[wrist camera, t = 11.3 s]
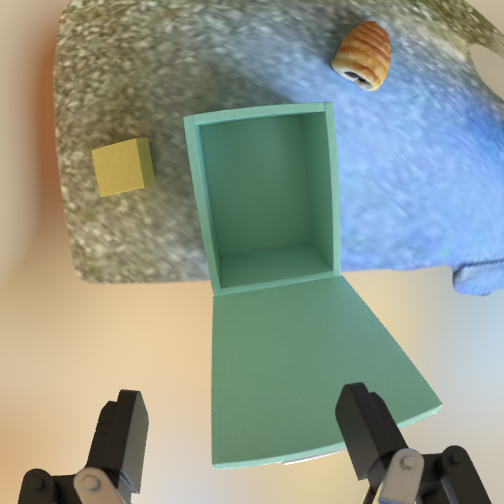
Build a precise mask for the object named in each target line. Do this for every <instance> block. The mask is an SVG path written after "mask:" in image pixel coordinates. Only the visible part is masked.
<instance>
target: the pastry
mask: <svg viewBox="0 0 504 504" xmlns="http://www.w3.org/2000/svg"><path fill="white" fill-rule="evenodd" d="M390 55H391V51H390V41H389V35H388V34H387V33H386V31H385V30H384V29H382V28H381V27H380V26H379V25H378V24H377V23H376V22H374V21H365V22H361V23H360V24H359V25H358V26H357V27H355V28H353V29H352V30H351V31H350V32H349V34H348V35H347V36H345V37H344V38H343V39H342V41H341V46H340V48H339V50H338V51H337V53H336V55H335V58H334V59H333V61H332V63H331V66H332V68H333V69H334V71H335V72H337V73H338V74H339V75H340V76H342V77H343V78H346V79H348V80H350V81H353V82H355V83H356V84H357V85H358V86H359V87H360V88H362V89H364V90H367V91H375V90H378V88H379V86H380V85H381V84H382V83H383V81H384V79H385V78H386V77H387V74H388V69H389V67H390V60H391V57H390Z"/></svg>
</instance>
